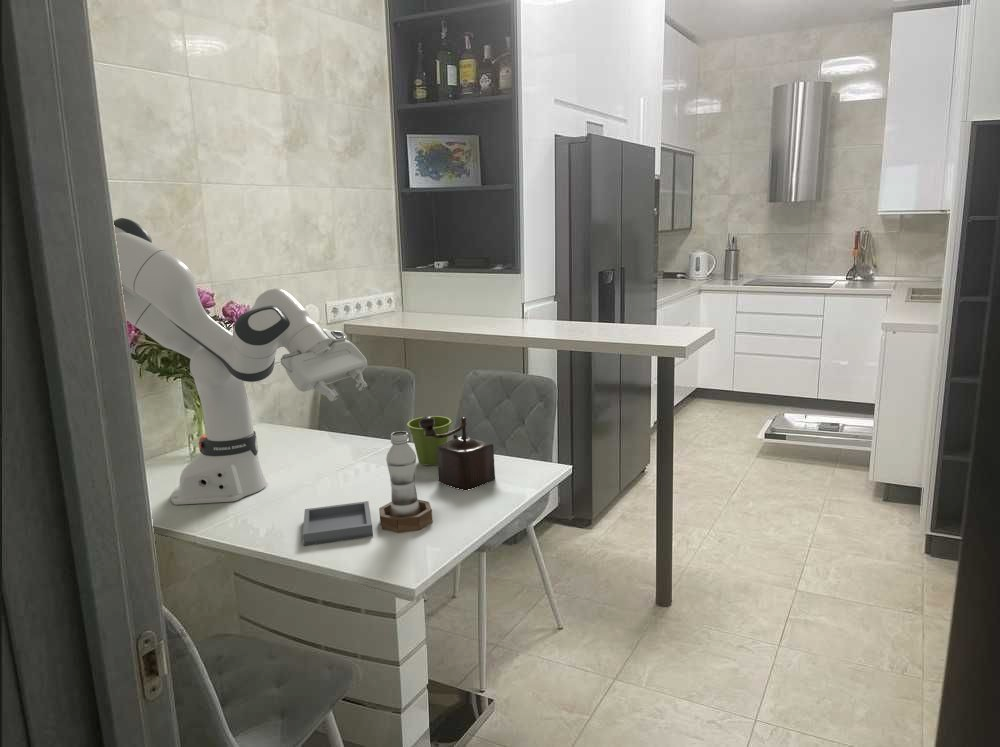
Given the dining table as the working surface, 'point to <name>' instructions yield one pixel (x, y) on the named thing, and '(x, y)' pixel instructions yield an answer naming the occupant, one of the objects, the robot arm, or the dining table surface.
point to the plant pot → (428, 439)
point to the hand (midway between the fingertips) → (350, 393)
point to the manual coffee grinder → (462, 457)
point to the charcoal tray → (337, 523)
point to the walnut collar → (405, 519)
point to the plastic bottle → (402, 476)
